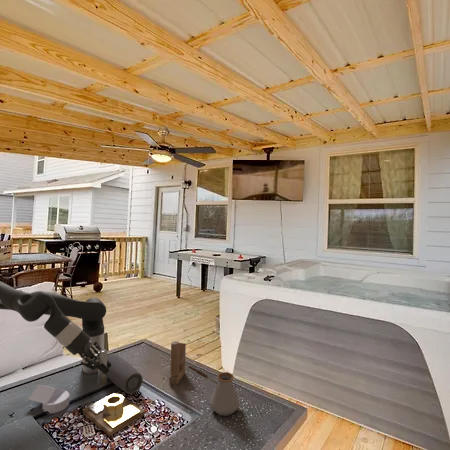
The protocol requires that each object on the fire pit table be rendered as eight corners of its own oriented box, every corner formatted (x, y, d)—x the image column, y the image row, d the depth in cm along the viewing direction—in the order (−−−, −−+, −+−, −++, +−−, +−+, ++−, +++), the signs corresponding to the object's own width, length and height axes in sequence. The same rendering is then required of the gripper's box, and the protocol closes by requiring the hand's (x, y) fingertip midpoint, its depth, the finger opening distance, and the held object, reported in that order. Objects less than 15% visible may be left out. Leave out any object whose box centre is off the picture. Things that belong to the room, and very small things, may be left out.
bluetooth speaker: (144, 391, 128) (144, 368, 128) (122, 401, 122) (123, 376, 121) (119, 370, 145) (119, 349, 144) (99, 377, 138) (99, 355, 138)
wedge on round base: (28, 408, 116) (55, 415, 112) (28, 390, 116) (55, 397, 112) (48, 394, 125) (74, 401, 121) (48, 378, 124) (74, 384, 121)
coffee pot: (241, 402, 123) (243, 365, 122) (236, 421, 112) (237, 381, 111) (191, 393, 128) (192, 358, 127) (181, 411, 117) (181, 372, 116)
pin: (96, 383, 111) (96, 351, 111) (104, 380, 113) (104, 348, 113) (100, 387, 109) (100, 354, 109) (108, 383, 112) (108, 351, 111)
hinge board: (82, 413, 114) (82, 409, 114) (116, 396, 125) (116, 392, 125) (109, 436, 103) (109, 431, 103) (144, 415, 114) (144, 411, 114)
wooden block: (185, 373, 144) (186, 335, 143) (176, 385, 133) (177, 345, 133) (177, 372, 145) (178, 334, 144) (168, 384, 134) (169, 344, 133)
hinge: (87, 408, 115) (87, 397, 114) (114, 394, 123) (114, 384, 123) (113, 428, 104) (113, 417, 104) (140, 412, 113) (140, 402, 113)
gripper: (71, 337, 116) (105, 367, 118) (57, 354, 102) (95, 388, 104) (86, 323, 116) (119, 353, 119) (74, 338, 102) (112, 372, 105)
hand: (108, 369), depth 111 cm, fingers closed on pin, 3 cm apart
